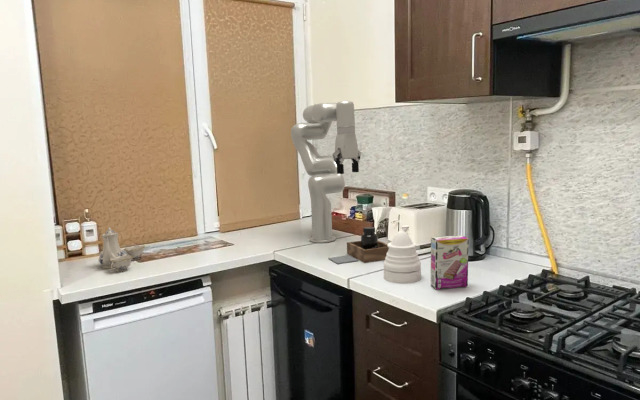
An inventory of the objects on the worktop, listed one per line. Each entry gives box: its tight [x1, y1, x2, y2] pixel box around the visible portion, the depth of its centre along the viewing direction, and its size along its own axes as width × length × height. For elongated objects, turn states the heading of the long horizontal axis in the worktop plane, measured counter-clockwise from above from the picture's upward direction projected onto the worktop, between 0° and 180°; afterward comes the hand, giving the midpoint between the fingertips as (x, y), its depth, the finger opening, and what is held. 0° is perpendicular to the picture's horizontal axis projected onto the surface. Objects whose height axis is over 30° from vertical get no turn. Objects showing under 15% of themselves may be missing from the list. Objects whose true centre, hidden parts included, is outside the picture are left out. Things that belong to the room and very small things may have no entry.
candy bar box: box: [430, 235, 470, 290], centre depth 157 cm, size 11×5×16 cm, turn 99°
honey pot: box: [383, 224, 422, 284], centre depth 169 cm, size 13×13×18 cm
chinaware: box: [98, 227, 146, 272], centre depth 201 cm, size 28×17×17 cm, turn 10°
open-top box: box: [346, 240, 389, 264], centre depth 200 cm, size 16×13×5 cm
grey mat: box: [328, 254, 359, 265], centre depth 196 cm, size 9×9×1 cm
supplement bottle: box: [360, 226, 379, 250], centre depth 199 cm, size 7×7×12 cm
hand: (348, 173), depth 203 cm, fingers open, 9 cm apart
